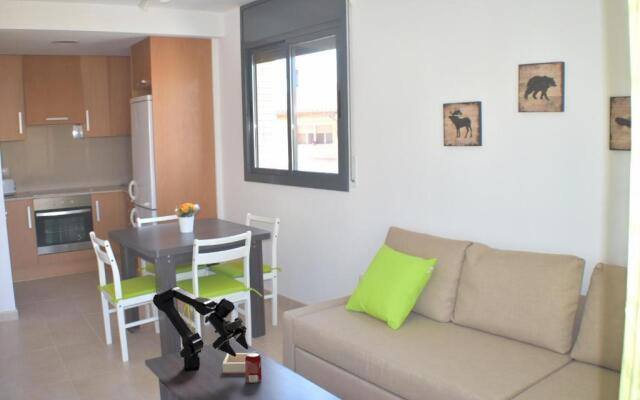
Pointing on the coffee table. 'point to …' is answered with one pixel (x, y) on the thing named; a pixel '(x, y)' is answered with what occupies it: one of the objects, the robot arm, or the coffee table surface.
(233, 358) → the open box
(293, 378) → the coffee table surface
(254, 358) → the soda can
